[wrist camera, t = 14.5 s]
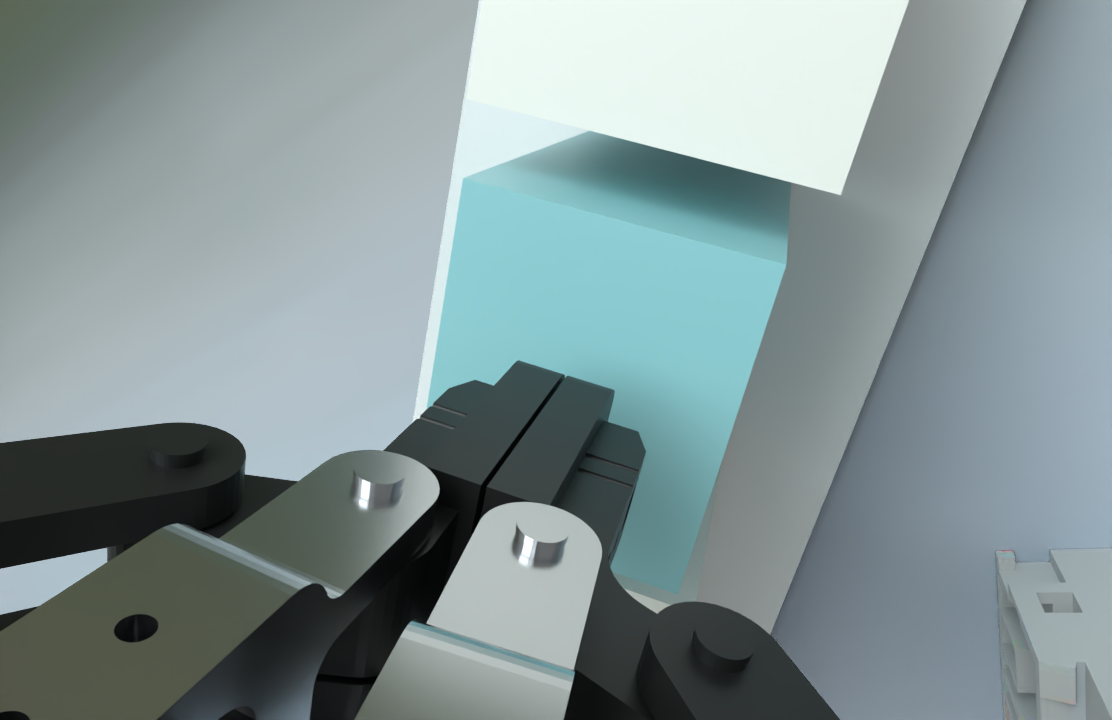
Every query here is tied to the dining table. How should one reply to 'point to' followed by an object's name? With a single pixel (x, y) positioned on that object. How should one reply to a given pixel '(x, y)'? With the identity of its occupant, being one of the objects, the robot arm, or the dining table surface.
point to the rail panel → (812, 289)
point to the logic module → (623, 307)
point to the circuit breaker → (1056, 635)
